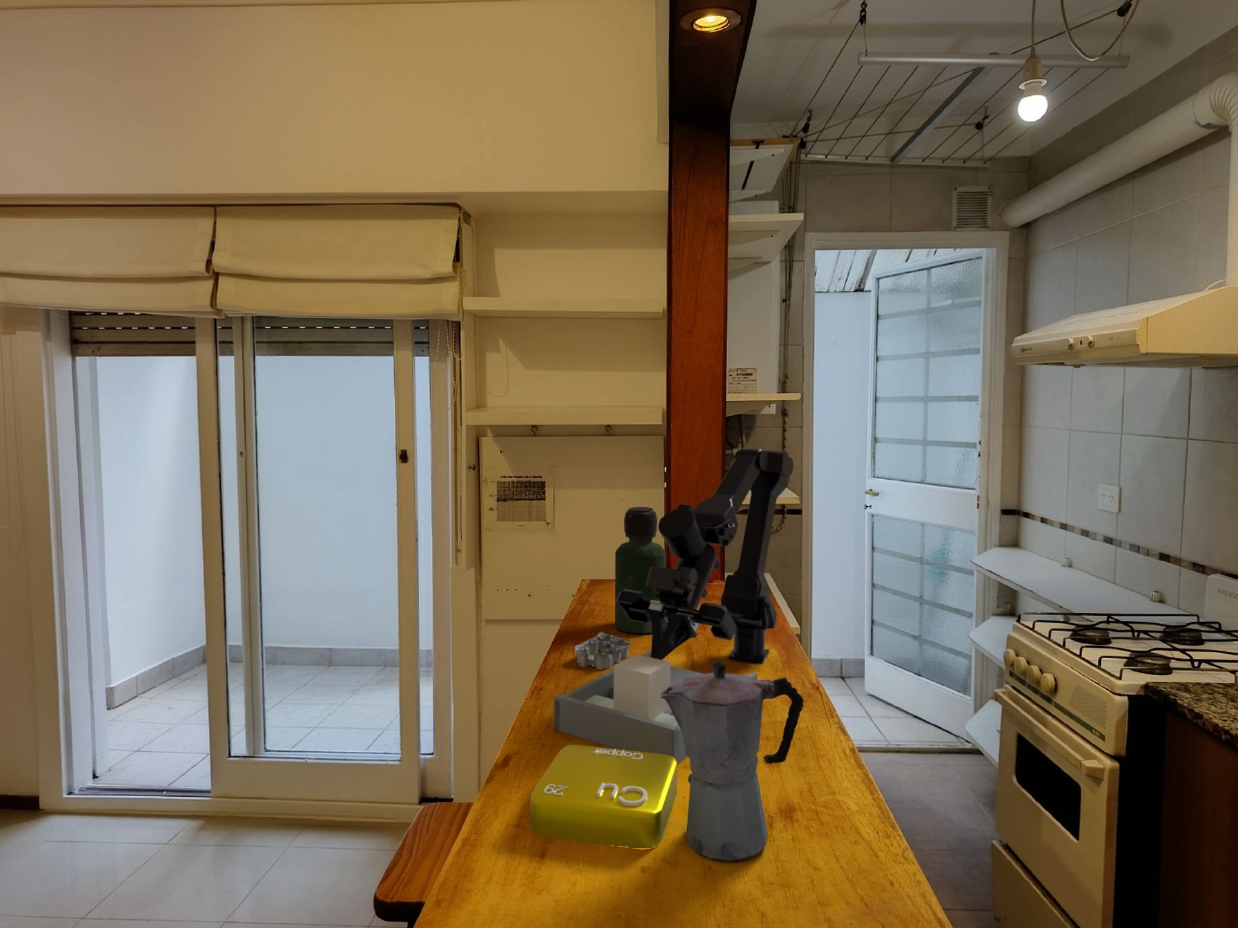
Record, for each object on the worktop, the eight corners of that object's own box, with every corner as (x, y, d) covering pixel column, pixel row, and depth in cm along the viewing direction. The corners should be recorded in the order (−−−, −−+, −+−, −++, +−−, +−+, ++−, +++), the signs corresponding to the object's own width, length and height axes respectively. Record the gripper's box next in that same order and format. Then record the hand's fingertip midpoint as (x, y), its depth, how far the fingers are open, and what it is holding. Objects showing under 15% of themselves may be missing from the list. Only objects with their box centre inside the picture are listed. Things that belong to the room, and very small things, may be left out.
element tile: (679, 787, 98) (679, 750, 97) (658, 856, 83) (658, 813, 83) (564, 773, 101) (564, 738, 101) (525, 837, 87) (524, 796, 86)
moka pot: (654, 817, 90) (655, 648, 88) (784, 812, 91) (789, 645, 89) (666, 867, 80) (667, 679, 79) (811, 861, 82) (816, 675, 80)
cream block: (635, 699, 118) (636, 654, 118) (670, 708, 115) (670, 661, 114) (613, 712, 113) (613, 665, 113) (648, 722, 110) (649, 674, 109)
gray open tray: (649, 675, 135) (650, 647, 135) (756, 701, 124) (757, 670, 124) (554, 729, 113) (554, 696, 113) (674, 766, 102) (674, 729, 102)
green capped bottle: (674, 629, 162) (676, 510, 159) (634, 638, 156) (634, 514, 153) (645, 617, 170) (646, 503, 168) (605, 625, 164) (605, 507, 162)
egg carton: (605, 673, 137) (605, 651, 136) (570, 666, 141) (570, 643, 140) (635, 655, 146) (635, 634, 146) (601, 648, 150) (601, 628, 149)
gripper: (622, 538, 124) (581, 622, 116) (729, 552, 114) (691, 645, 106) (648, 578, 132) (610, 659, 123) (750, 594, 121) (716, 684, 113)
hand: (654, 661), depth 116 cm, fingers closed
